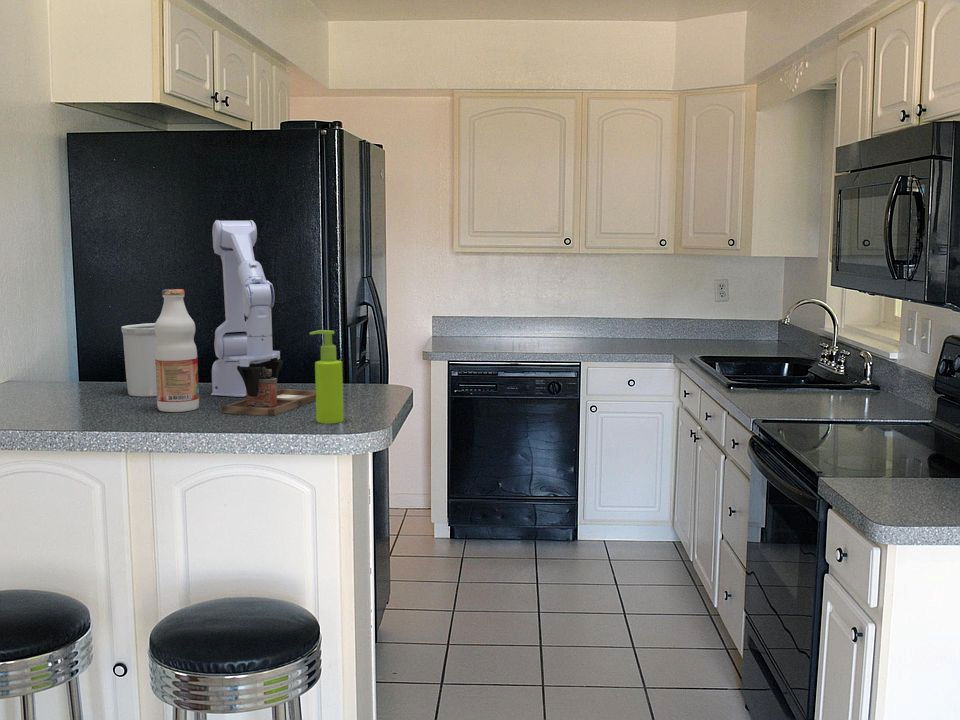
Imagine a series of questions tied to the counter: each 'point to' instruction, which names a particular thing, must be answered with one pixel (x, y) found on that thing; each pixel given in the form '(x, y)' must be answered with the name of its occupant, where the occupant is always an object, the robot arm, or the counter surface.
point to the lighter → (264, 391)
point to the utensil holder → (140, 359)
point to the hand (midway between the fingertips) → (261, 393)
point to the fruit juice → (176, 356)
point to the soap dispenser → (328, 382)
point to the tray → (285, 402)
